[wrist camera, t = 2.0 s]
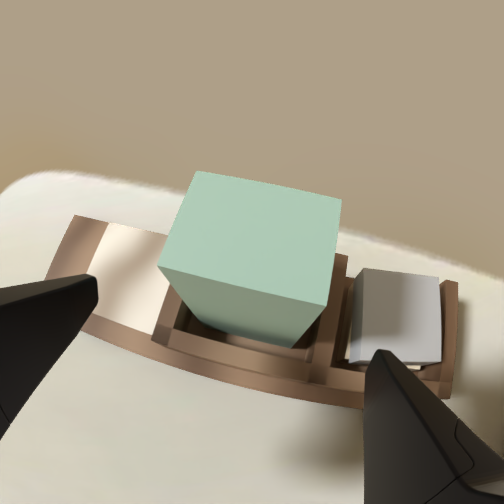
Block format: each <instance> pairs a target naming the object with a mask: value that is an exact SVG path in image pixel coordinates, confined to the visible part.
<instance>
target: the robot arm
mask: <svg viewBox="0 0 504 504" xmlns="http://www.w3.org/2000/svg"><path fill="white" fill-rule="evenodd" d="M98 300H99V295H98V282H97V278H96V277H95V276H92V275H89V274H80V275H74V276H68V277H62V278H56V279H51V280H45V281H39V282H33V283H28V284H22V285H16V286H11V287H5V288H0V440H1V439H2V437H3V435H4V434H5V432H6V431H7V429H8V428H9V426H10V424H11V423H12V422H13V420H14V419H15V417H16V416H17V414H18V413H19V411H20V410H21V409H22V407H23V406H24V404H25V403H26V402H27V400H28V399H29V397H30V396H31V395H32V393H33V392H34V390H35V389H36V388H37V386H38V385H39V384H40V382H41V381H42V380H43V378H44V377H45V376H46V374H47V373H48V372H49V370H50V369H51V368H52V366H53V365H54V364H55V363H56V361H57V360H58V359H59V357H60V356H61V355H62V354H63V352H64V351H65V350H66V349H67V347H68V346H69V345H70V344H71V342H72V341H73V340H74V339H75V337H76V336H77V334H78V333H79V331H80V330H81V328H82V327H83V325H84V324H85V322H86V321H87V319H88V318H89V316H90V315H91V313H92V312H93V310H94V309H95V308H96V306H97V304H98ZM457 418H458V417H457V416H456V415H455V414H454V413H453V412H452V411H451V410H450V409H449V408H448V407H447V406H446V405H445V404H444V403H443V402H442V401H441V400H440V399H439V398H438V397H437V396H436V395H435V394H434V393H433V392H432V391H431V390H430V389H429V388H428V387H427V386H426V385H425V384H424V383H423V382H422V381H421V380H420V379H419V378H418V377H417V376H416V375H415V374H414V373H413V372H412V371H411V370H410V369H409V368H408V367H407V366H406V365H405V364H404V363H403V362H402V361H400V360H399V359H398V358H397V357H396V356H395V355H394V354H393V353H392V352H391V351H390V350H385V349H377V350H376V351H375V353H374V355H373V357H372V359H371V361H370V363H369V365H368V367H367V370H366V373H365V385H364V405H363V437H364V504H504V459H503V458H501V457H500V456H499V455H498V454H497V453H496V452H495V451H493V450H492V449H491V448H490V447H489V446H488V445H486V444H485V443H484V442H483V441H482V440H481V439H480V438H479V437H478V436H476V435H475V434H474V433H473V432H472V431H471V430H470V429H469V428H468V427H467V426H466V425H465V424H464V423H463V422H462V421H461V420H460V419H459V418H458V419H457Z"/></svg>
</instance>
